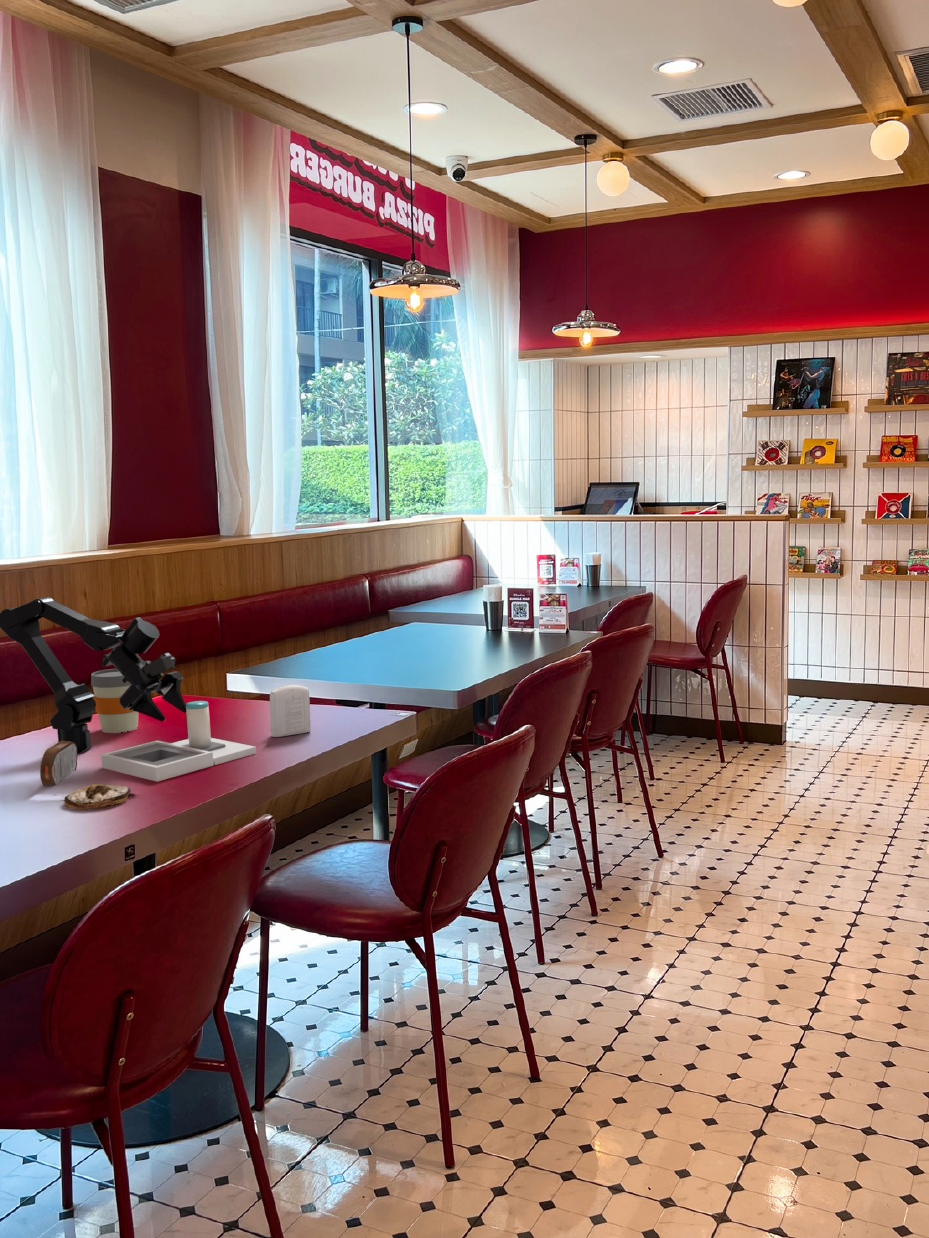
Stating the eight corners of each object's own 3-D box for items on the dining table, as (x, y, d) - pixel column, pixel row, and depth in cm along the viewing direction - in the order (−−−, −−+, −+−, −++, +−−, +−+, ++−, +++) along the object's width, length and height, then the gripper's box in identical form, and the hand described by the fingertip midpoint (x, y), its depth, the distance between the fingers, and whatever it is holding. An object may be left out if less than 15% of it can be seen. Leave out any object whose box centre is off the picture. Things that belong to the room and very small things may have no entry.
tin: (67, 772, 247) (64, 736, 246) (81, 772, 247) (78, 735, 246) (39, 792, 232) (36, 753, 231) (54, 792, 232) (51, 753, 231)
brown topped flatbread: (100, 789, 235) (98, 770, 234) (151, 797, 228) (150, 778, 227) (43, 808, 222) (41, 788, 222) (96, 818, 215) (94, 797, 214)
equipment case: (102, 771, 247) (101, 754, 246) (201, 745, 268) (200, 729, 267) (157, 785, 234) (156, 767, 234) (256, 757, 256) (255, 740, 255)
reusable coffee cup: (144, 732, 284) (140, 674, 282) (92, 736, 281) (88, 678, 279) (145, 721, 296) (141, 666, 294) (96, 725, 293) (92, 670, 291)
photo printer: (306, 729, 282) (303, 681, 280) (313, 732, 278) (311, 684, 277) (268, 735, 276) (266, 687, 275) (275, 738, 273) (273, 689, 271)
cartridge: (189, 749, 252) (186, 706, 251) (188, 744, 257) (185, 702, 255) (212, 747, 254) (209, 704, 252) (210, 742, 258) (207, 700, 257)
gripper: (127, 650, 247) (173, 701, 245) (174, 637, 264) (217, 685, 262) (100, 683, 250) (144, 734, 248) (147, 668, 268) (190, 715, 266)
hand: (175, 716), depth 256 cm, fingers open, 9 cm apart
